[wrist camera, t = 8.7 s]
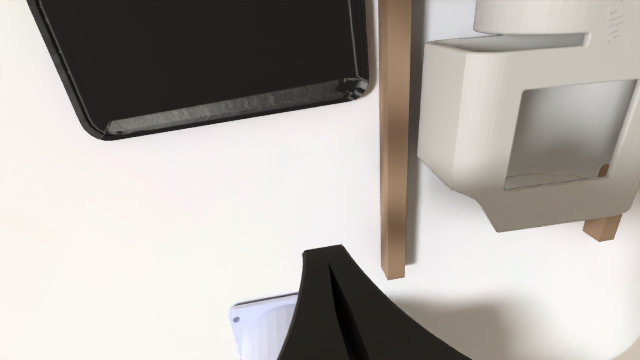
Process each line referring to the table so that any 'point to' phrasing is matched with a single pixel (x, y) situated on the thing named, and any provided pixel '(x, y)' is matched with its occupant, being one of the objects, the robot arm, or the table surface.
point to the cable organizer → (537, 109)
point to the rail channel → (395, 138)
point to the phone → (201, 59)
